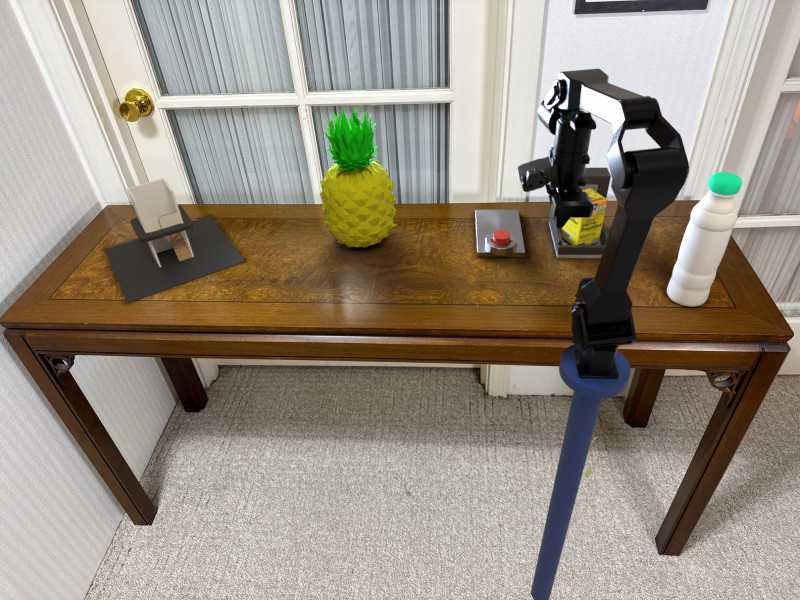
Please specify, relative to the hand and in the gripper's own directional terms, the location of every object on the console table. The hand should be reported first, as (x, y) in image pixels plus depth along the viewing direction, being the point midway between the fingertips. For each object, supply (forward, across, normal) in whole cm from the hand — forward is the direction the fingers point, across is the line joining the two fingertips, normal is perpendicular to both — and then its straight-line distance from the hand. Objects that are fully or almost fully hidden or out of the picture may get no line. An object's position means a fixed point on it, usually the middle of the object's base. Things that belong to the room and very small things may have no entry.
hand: (559, 226), depth 105 cm
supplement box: (+12, -14, +8) cm, 20 cm away
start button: (+10, -11, -9) cm, 17 cm away
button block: (+12, -18, -9) cm, 24 cm away
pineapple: (+13, -16, -40) cm, 45 cm away
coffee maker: (+13, -15, +8) cm, 21 cm away
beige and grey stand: (+13, -9, -82) cm, 84 cm away
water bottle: (+13, +4, +24) cm, 28 cm away
